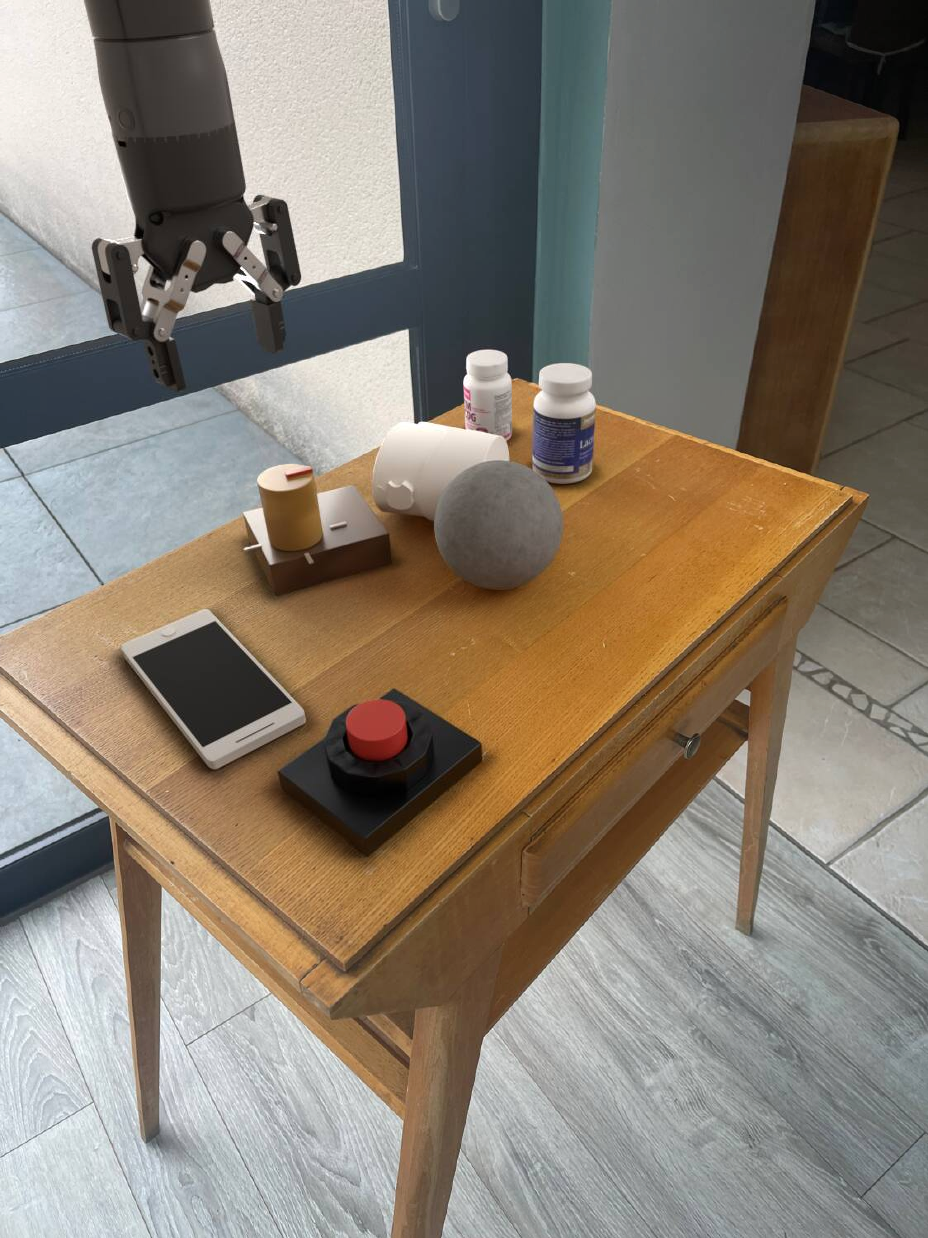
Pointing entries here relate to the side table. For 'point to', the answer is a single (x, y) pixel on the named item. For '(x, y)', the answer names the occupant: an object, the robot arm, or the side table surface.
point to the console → (324, 544)
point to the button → (376, 730)
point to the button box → (380, 776)
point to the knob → (290, 507)
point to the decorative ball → (498, 525)
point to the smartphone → (212, 688)
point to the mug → (427, 464)
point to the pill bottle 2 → (564, 424)
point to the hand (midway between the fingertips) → (224, 368)
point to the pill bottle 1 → (488, 393)
